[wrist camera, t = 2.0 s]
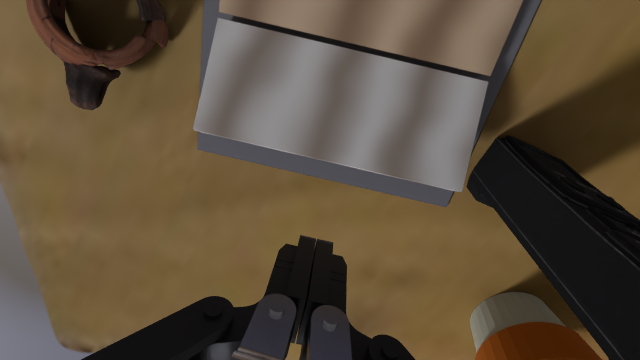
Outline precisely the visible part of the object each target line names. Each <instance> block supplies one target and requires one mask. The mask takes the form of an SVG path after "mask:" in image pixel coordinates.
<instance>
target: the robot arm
mask: <svg viewBox="0 0 640 360" xmlns="http://www.w3.org/2000/svg"><path fill="white" fill-rule="evenodd" d="M315 242H316V239H315V238H311V237H306V236H302V235H300V239H299V243H298V246H294V245H290V244H285V245H284V246H283V247H282V248H281V249H280V250H279V252H278V255H277V258H276V261H275V264H274V268H273V271H272V274H271V277H270V280H269V283H268V286H267V289H266V292H265V295H264V297H263V298H262V299H261V300H260V301H259V302H257V303H256V304H254V305H251V306H246V307H233V305H232V304H231V302H230V301H229V300H227V299H225V298H223V297H219V296H210V297H206V298H204V299H201V300H199V301H197V302H195V303H193V304H191V305H189V306H187V307H185V308H183V309H181V310H179V311H177V312H175V313H173V314H171V315H169V316H167V317H165V318H163V319H161V320H159V321H157V322H155V323H153V324H151V325H149V326H147V327H145V328H143V329H141V330H139V331H137V332H135V333H133V334H131V335H129V336H127V337H125V338H123V339H121V340H119V341H117V342H115V343H113V344H111V345H109V346H107V347H105V348H103V349H101V350H99V351H97V352H95V353H93V354H91V355H89V356H87V357H85V358H83V359H82V360H285V359H286V357H287V354H288V350H289V346H290V342H291V343H295V339H296V335H297V331H298V336H297V342H296V344H300V345H302V348H301V354H300V358H299V360H415V359H414V358H413V356H412V355H411V354H410V353H409V352H408V350H407V349H406V348H405V347H404V346H403V345H402V344H401V343H400V342H399V341H398V340H397V339H395V338H393V337H391V336H388V335H377V336H375V337H373V338H372V339H371V338H369V337H367V336H366V335H364V334H362V333H360V332H359V331H357V330H356V329H355V328H354V327H353V326H352V325H351V324H350V322H349V320H348V318H347V315H346V282H347V276H346V275H347V265H346V263H345V261H344V259H343V257H342V256H338V255H334V254H332V252H333V242H329V241H324V240H320V239H317V242H316V246H315ZM314 248H315V249H314ZM298 328H299V330H298Z"/></svg>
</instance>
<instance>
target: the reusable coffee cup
mask: <svg viewBox="0 0 640 360" xmlns="http://www.w3.org/2000/svg"><path fill="white" fill-rule="evenodd" d="M470 325H471V330H472V334H473V338H474V342H475V347H476V351H477V354H476V358H475V360H602V359H601V358H600V357H599V356H598V355H597V354H596V353H595V351H594V350H593V349H592V348H591V347H590V346H589V345H588V344H587V343H586V342H585V341H584V340H583V339H582V337H581V336H580V335H579V334H578V333H576V332H575V331H573V330H572V329H570V328H568V327H566V326H565V325H564V324H563V323H562V322H561V321H560V320H559V318H558V317H557V316H556V315H555V314H554V313H553V312H552V311H551V310H550V309H549V307H548V306H547V305H546V304H545V303H544V302H543V301H542V300H541V299H539V298H538V297H536V296H534V295H531V294H528V293H523V292H506V293H501V294H498V295H495V296H492V297H490V298H488V299H486V300H484V301H483V302H482V303H480V304H479V305H478V306H477V307H476V308H475V309H474V311H473V313H472V315H471V318H470Z"/></svg>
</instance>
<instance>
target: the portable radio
mask: <svg viewBox="0 0 640 360" xmlns="http://www.w3.org/2000/svg"><path fill="white" fill-rule="evenodd" d="M467 188H468V190H469V191H470V192H471V194H472V195H473V197H474V198H475V200H476V201H479V202H481V203H483V204H486V205H488V206H490V207H492V208H494V209H495V211H496V212H497V213H498V214H499V216H500V217H501V218H502V220H503V221H504V222H505V224H506V225H507V226H508V227H509V229H510V230H511V231H512V233H513V234H514V235H515V237H516V238H517V239H518V240H519V242H520V243H521V244H522V246H523V247H524V248H525V250H526V251H527V252H528V254H529V255H530V256H531V257H532V259H533V260H534V261H535V263H536V264H537V265H538V267H539V268H540V269H541V270H542V272H543V273H544V274H545V276H546V277H547V278H548V280H549V281H550V282H551V283H552V285H553V286H554V287H555V289H556V290H557V291H558V293H559V294H560V295H561V296H562V298H563V299H564V300H565V302H566V303H567V304H568V306H569V307H570V308H571V310H572V311H573V312H574V313H575V315H576V316H577V317H578V319H579V320H580V321H581V323H582V324H583V325H584V326H585V328H586V329H587V330H588V332H589V333H590V334H591V336H592V337H593V338H594V339H595V341H596V342H597V343H598V345H599V346H600V347H601V349H602V350H603V351H604V352H605V354H606V355H607V356H608V358H609V360H640V220H639V219H637V218H636V217H635V216H633V215H632V214H630V213H629V212H628V211H626V210H625V209H624V208H623V207H622V206H621V205H620V204H618V203H617V202H615V200H614V199H613V198H611V197H608V196H606V195H605V194H603V193H602V192H601V191H599V190H598V189H597V188H596V187H594V186H593V185H592V184H590V183H589V182H588V181H587V180H585V179H584V178H583V177H582V176H580V175H579V174H578V173H577V172H576V171H574V170H573V169H572V168H571V167H570V166H569V165H567V164H566V163H565V162H564V161H563V160H561V159H559V158H556V157H554V156H552V155H550V154H548V153H546V152H544V151H542V150H540V149H538V148H536V147H534V146H531V145H529V144H527V143H525V142H522V141H520V140H518V139H516V138H514V137H511V136H506V137H505V138H500V137H498V138H496V139H495V140H494V142H493V143H492V144H491V146H490V147H489V149H488V150H487V151H486V153H485V154H484V155H483V157H482V158H481V159H480V161H479V162H478V164H477V165H476V166H475V168H474V169H473V171H472V173H471V175H470V177H469V180H468V184H467Z"/></svg>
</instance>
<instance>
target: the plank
mask: <svg viewBox="0 0 640 360" xmlns="http://www.w3.org/2000/svg"><path fill="white" fill-rule="evenodd" d="M487 86H488V82H487V81H483V80H479V79H474V78H470V77H466V76H462V75H457V74H453V73H449V72H445V71H440V70H436V69H432V68H428V67H424V66H419V65H415V64H411V63H407V62H402V61H398V60H394V59H390V58H386V57H381V56H377V55H373V54H369V53H364V52H360V51H356V50H352V49H348V48H343V47H339V46H335V45H331V44H326V43H322V42H318V41H314V40H310V39H305V38H301V37H297V36H293V35H288V34H284V33H280V32H276V31H271V30H267V29H263V28H259V27H255V26H250V25H246V24H242V23H238V22H233V21H229V20H225V19H221V18H218V20H217V24H216V29H215V33H214V38H213V42H212V47H211V51H210V56H209V60H208V65H207V69H206V74H205V78H204V83H203V87H202V92H201V96H200V101H199V105H198V110H197V114H196V118H195V123H194V127H193V130H196V131H199V132H202V133H206V134H211V135H215V136H219V137H223V138H228V139H232V140H236V141H241V142H245V143H249V144H254V145H258V146H262V147H266V148H271V149H275V150H279V151H284V152H288V153H292V154H296V155H301V156H305V157H309V158H314V159H318V160H322V161H327V162H331V163H335V164H339V165H344V166H348V167H352V168H357V169H361V170H365V171H370V172H374V173H378V174H382V175H387V176H391V177H395V178H400V179H404V180H408V181H412V182H417V183H421V184H425V185H430V186H434V187H438V188H443V189H447V190H451V191H457V192H462V189H463V185H464V181H465V177H466V173H467V169H468V165H469V160H470V156H471V152H472V148H473V144H474V140H475V136H476V132H477V127H478V123H479V119H480V115H481V111H482V107H483V103H484V99H485V94H486V90H487Z"/></svg>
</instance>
